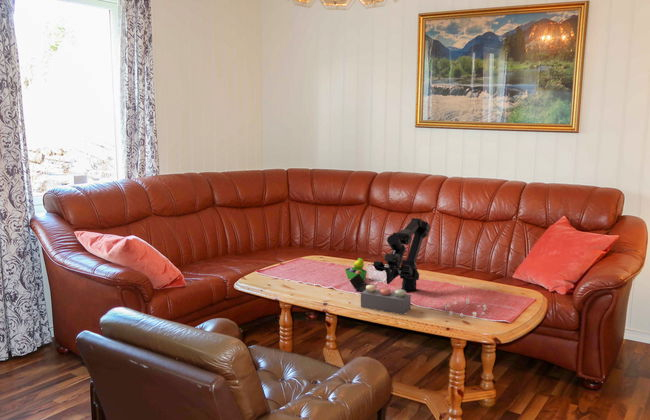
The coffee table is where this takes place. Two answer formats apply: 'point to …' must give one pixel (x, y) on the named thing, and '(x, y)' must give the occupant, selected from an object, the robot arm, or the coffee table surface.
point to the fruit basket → (356, 270)
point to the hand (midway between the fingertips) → (387, 283)
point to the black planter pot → (359, 283)
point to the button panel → (386, 302)
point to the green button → (400, 293)
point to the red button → (385, 291)
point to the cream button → (371, 288)
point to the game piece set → (467, 303)
